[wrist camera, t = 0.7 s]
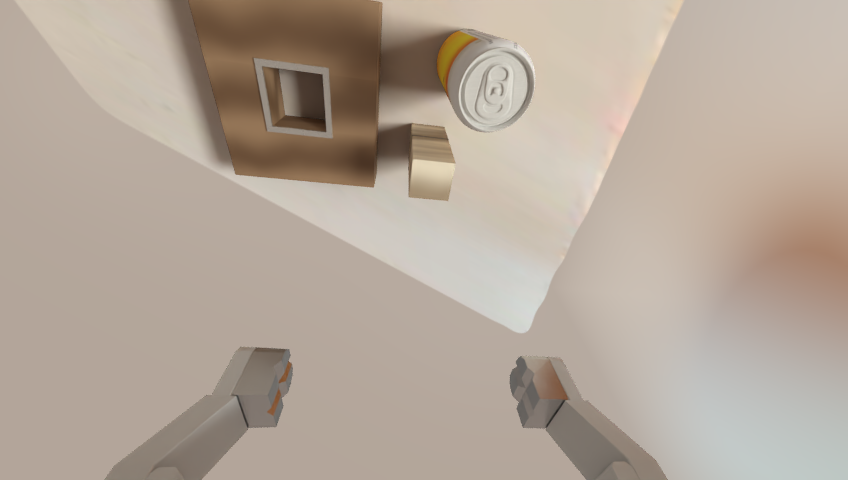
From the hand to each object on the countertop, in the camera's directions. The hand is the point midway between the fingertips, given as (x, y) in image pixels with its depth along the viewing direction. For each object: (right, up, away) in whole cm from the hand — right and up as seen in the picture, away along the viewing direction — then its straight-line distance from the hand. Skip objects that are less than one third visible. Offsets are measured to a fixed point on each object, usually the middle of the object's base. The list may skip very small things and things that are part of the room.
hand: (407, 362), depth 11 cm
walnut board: (-13, +21, +23) cm, 34 cm away
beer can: (+5, +24, +22) cm, 33 cm away
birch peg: (+1, +17, +27) cm, 32 cm away
